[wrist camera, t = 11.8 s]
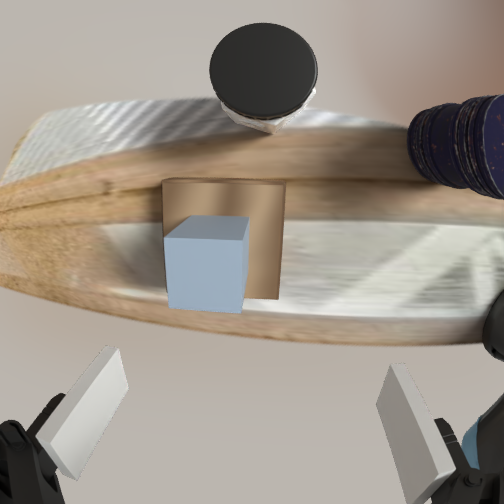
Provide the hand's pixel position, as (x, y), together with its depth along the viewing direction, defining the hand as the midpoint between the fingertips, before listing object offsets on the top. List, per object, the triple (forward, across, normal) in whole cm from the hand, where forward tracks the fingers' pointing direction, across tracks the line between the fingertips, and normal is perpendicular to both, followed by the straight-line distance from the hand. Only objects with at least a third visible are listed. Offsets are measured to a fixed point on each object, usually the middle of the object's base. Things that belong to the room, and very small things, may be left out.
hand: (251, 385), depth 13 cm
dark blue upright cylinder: (+24, -21, -14) cm, 35 cm away
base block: (+24, +5, -1) cm, 24 cm away
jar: (+24, +1, -17) cm, 29 cm away
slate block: (+20, +5, -1) cm, 20 cm away
